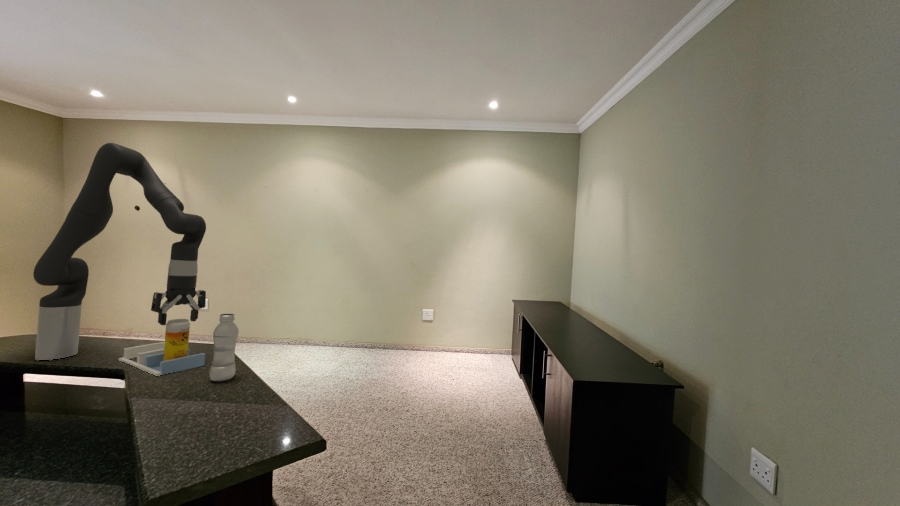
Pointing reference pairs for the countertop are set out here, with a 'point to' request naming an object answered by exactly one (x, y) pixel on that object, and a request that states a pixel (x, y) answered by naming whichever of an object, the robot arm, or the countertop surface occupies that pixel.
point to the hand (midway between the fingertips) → (178, 322)
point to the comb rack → (160, 359)
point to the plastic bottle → (224, 349)
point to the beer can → (176, 339)
